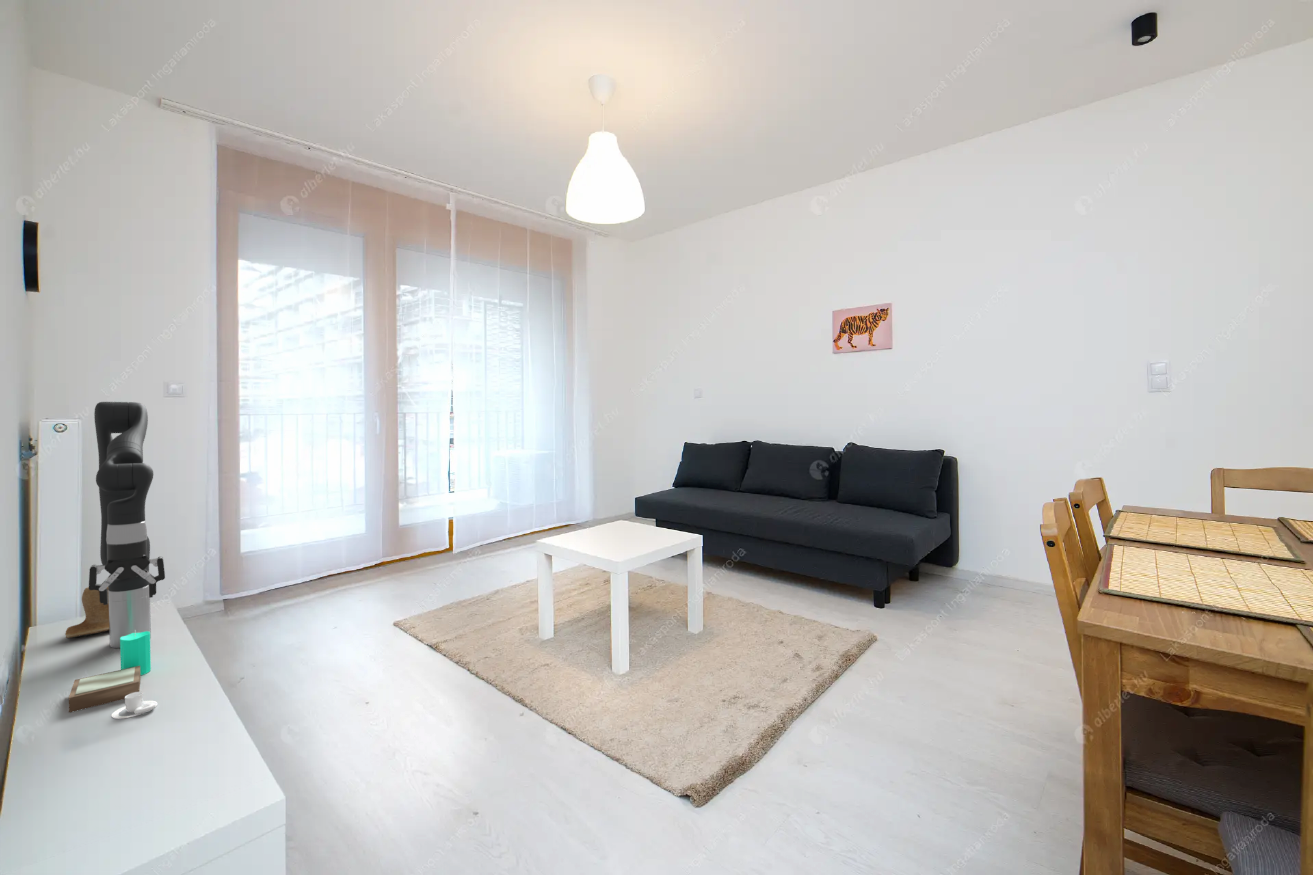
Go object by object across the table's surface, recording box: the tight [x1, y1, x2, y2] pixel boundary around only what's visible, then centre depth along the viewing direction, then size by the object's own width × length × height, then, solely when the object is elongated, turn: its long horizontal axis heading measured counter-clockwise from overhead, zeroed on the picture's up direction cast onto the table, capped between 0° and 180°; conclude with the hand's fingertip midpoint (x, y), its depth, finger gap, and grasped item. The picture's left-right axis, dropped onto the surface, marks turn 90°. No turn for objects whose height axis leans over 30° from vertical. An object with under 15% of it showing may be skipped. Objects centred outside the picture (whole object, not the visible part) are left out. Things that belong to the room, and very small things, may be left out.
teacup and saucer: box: [110, 691, 158, 720], centre depth 129 cm, size 9×8×4 cm
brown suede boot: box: [64, 586, 109, 639], centre depth 176 cm, size 15×12×15 cm
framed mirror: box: [68, 666, 142, 713], centre depth 136 cm, size 12×12×4 cm
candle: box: [119, 630, 152, 676], centre depth 148 cm, size 6×6×12 cm
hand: (128, 600), depth 142 cm, fingers open, 8 cm apart
